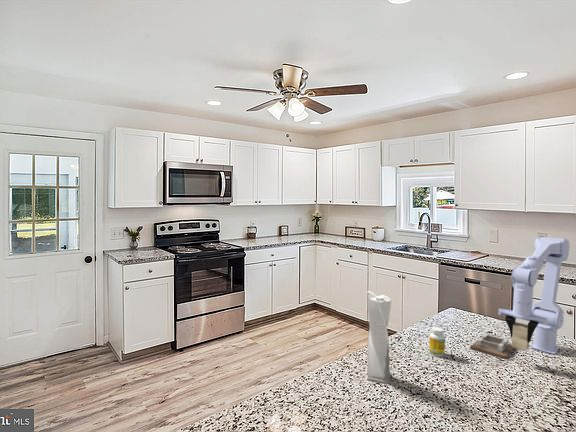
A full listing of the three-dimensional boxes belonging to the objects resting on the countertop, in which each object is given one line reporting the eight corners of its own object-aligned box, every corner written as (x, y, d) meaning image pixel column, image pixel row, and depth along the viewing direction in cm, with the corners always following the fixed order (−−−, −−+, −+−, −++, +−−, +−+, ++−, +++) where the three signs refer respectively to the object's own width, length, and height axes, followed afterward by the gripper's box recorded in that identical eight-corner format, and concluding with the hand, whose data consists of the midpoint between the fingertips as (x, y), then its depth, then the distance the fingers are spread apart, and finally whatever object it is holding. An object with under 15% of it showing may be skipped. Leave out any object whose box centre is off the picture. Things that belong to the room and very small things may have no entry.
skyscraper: (362, 379, 115) (365, 294, 114) (366, 367, 123) (368, 288, 121) (389, 384, 113) (392, 297, 111) (391, 372, 120) (394, 290, 118)
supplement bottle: (434, 349, 139) (435, 325, 138) (447, 354, 134) (448, 329, 134) (426, 352, 136) (427, 328, 135) (438, 358, 131) (439, 332, 131)
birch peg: (514, 343, 131) (515, 322, 130) (528, 347, 128) (530, 325, 127) (511, 347, 128) (512, 325, 127) (526, 350, 125) (527, 328, 124)
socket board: (481, 338, 150) (481, 330, 149) (514, 347, 141) (515, 339, 141) (470, 348, 140) (470, 340, 140) (505, 359, 131) (505, 349, 131)
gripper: (496, 299, 129) (494, 336, 130) (545, 309, 119) (543, 348, 120) (502, 295, 134) (500, 331, 135) (549, 304, 124) (547, 342, 125)
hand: (520, 339), depth 128 cm, fingers closed on birch peg, 4 cm apart
